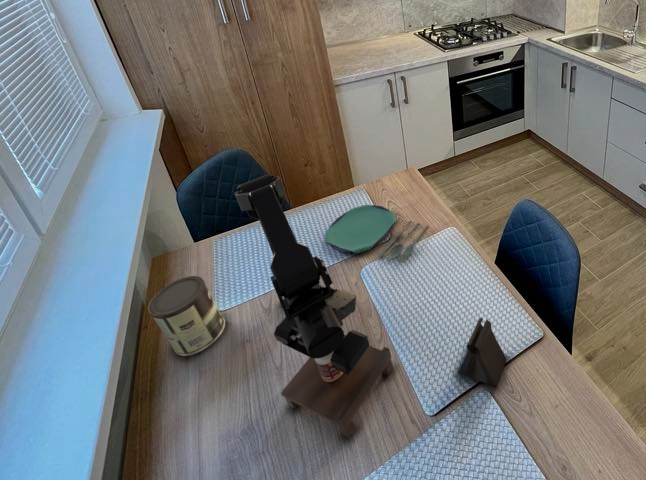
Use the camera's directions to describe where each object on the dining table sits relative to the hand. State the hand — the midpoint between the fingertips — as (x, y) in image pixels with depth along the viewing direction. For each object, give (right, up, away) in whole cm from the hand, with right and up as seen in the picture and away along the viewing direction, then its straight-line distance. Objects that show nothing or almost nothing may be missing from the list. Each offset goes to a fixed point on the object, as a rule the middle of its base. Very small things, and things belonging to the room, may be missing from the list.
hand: (331, 363), depth 82 cm
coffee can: (-38, -3, +15) cm, 41 cm away
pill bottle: (0, -2, +1) cm, 3 cm away
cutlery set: (-5, +11, +42) cm, 44 cm away
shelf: (+1, -7, +3) cm, 8 cm away
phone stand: (+31, -5, +6) cm, 31 cm away
